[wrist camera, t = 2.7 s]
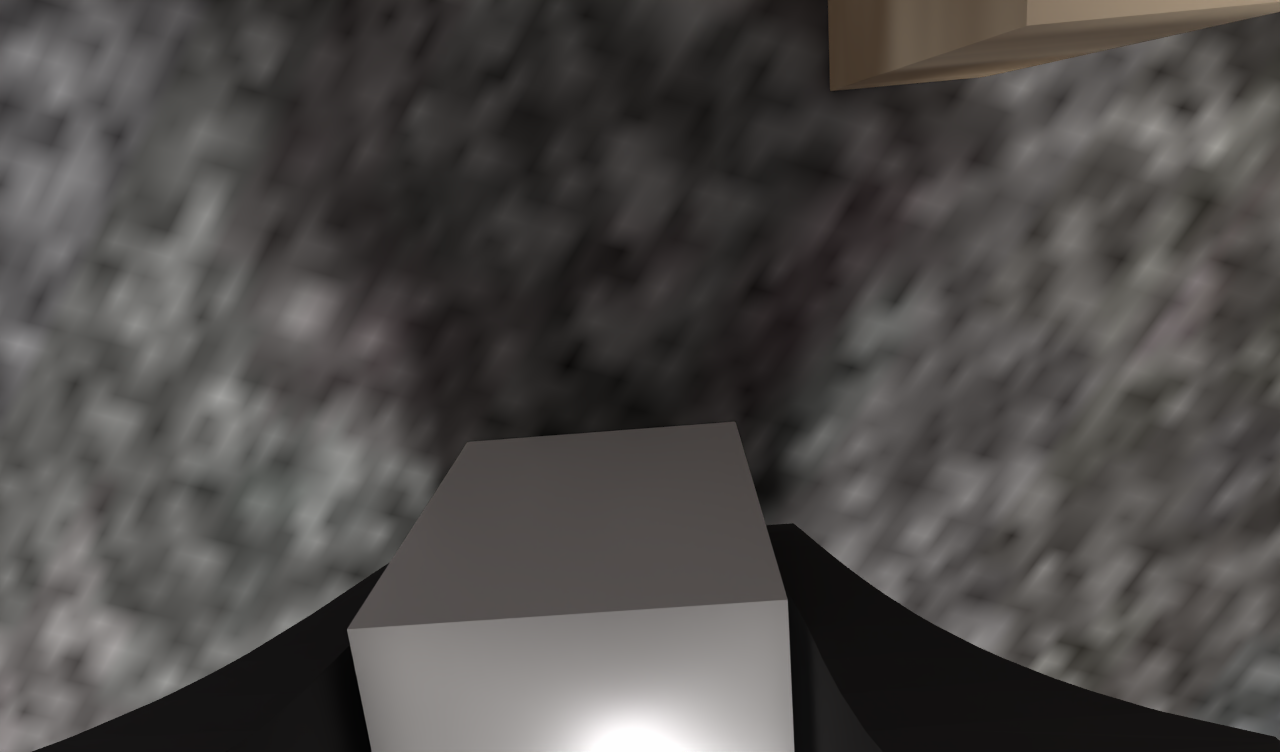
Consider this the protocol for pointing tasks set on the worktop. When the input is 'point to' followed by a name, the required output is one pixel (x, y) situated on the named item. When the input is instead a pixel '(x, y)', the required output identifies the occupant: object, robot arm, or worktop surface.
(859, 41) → the trapdoor posts
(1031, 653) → the worktop surface
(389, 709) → the grey rectangular block
